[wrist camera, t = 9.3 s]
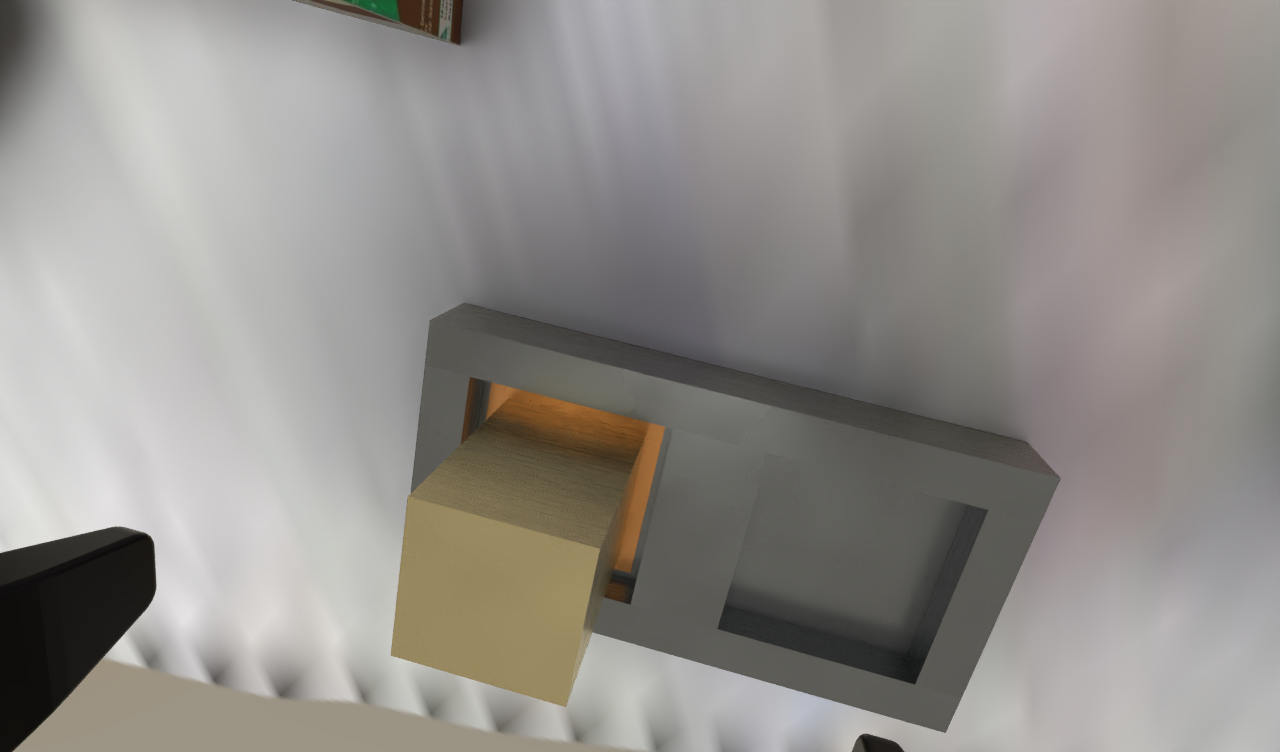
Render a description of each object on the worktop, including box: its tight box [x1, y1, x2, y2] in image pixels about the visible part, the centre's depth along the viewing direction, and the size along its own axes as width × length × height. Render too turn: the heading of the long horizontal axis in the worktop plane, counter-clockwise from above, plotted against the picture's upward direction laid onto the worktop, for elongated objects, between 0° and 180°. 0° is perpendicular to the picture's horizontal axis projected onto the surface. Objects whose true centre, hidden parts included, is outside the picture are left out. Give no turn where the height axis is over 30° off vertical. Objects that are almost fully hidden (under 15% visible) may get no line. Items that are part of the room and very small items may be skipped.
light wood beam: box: [391, 398, 646, 707], centre depth 17 cm, size 4×4×6 cm
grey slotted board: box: [411, 303, 1061, 733], centre depth 20 cm, size 16×8×2 cm, turn 78°
